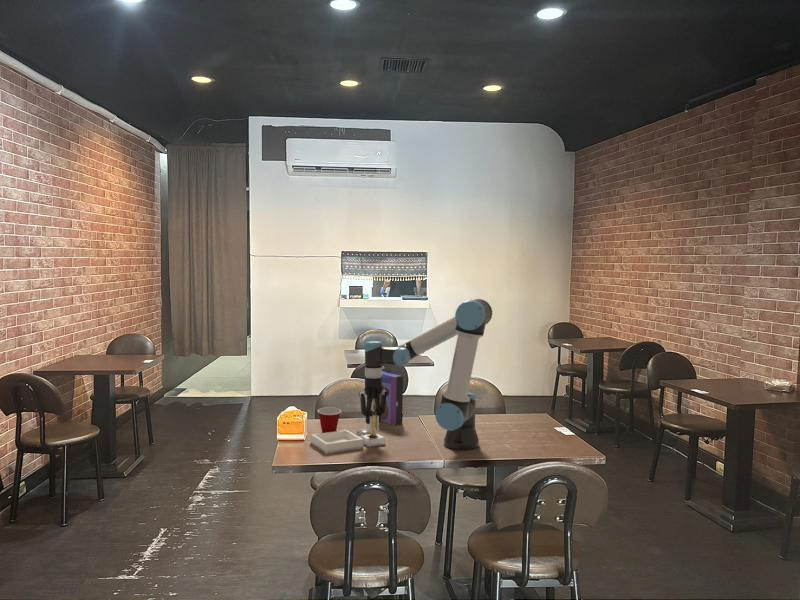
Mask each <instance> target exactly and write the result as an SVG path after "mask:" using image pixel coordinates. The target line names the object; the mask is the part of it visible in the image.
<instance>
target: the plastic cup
mask: <svg viewBox="0 0 800 600" xmlns="http://www.w3.org/2000/svg"><path fill="white" fill-rule="evenodd" d="M317 413H318V417H319V420H320V422H319V423H320V429H321V433H327V432H334V431H337V429H338V424H339V418H340V415H341V414H342V410H341V409H340V408H337V407H332V406H331V407H327V406H326V407H321V408H319V409H317Z"/></svg>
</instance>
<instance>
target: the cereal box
mask: <svg viewBox="0 0 800 600" xmlns="http://www.w3.org/2000/svg"><path fill="white" fill-rule="evenodd" d="M381 377H382V389H383V390H385V391H387V392H388V393H387V396H386V404H385V413H383V414H382V415H381V420H382V421H384V422H383V423H385V422H387V423H386V424H388V423H390V424H389V425H392V424H394V425H393V426H398V425H397V424H400V425H403V405H404V404H403V403H404V402H403V399H404V398H403V397H404V396H403V393H404V390H403V389H404V388H403V387H404V375H399V374H394V373H389V372H385V371H382V376H381ZM381 395H382V394H380V403H381ZM372 405H373V407H372V408H373V409H375V410H376V408H375V400H374V398H373V401H372ZM382 421H381V422H382Z"/></svg>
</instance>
